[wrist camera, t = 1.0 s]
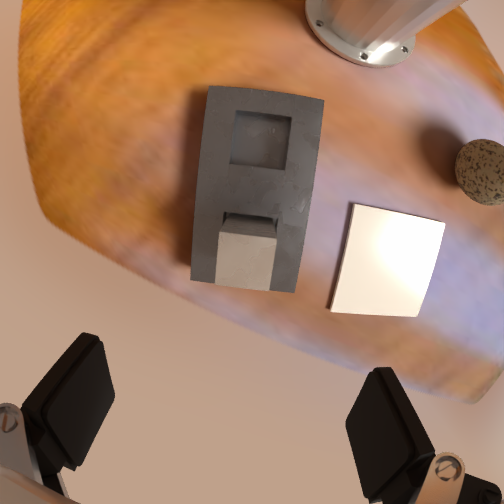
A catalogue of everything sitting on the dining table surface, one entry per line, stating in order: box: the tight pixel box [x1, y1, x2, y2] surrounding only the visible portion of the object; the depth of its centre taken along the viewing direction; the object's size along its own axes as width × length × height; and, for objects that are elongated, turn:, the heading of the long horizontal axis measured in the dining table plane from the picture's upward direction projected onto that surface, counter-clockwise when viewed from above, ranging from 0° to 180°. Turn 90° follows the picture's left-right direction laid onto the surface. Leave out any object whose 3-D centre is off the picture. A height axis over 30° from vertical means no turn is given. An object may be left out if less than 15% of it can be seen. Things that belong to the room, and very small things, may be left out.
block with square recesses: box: [190, 86, 324, 293], centre depth 25 cm, size 18×10×3 cm, turn 173°
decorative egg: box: [455, 139, 504, 206], centre depth 20 cm, size 7×7×10 cm
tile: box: [330, 203, 445, 317], centre depth 29 cm, size 12×12×1 cm
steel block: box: [215, 212, 277, 291], centre depth 24 cm, size 4×4×8 cm
